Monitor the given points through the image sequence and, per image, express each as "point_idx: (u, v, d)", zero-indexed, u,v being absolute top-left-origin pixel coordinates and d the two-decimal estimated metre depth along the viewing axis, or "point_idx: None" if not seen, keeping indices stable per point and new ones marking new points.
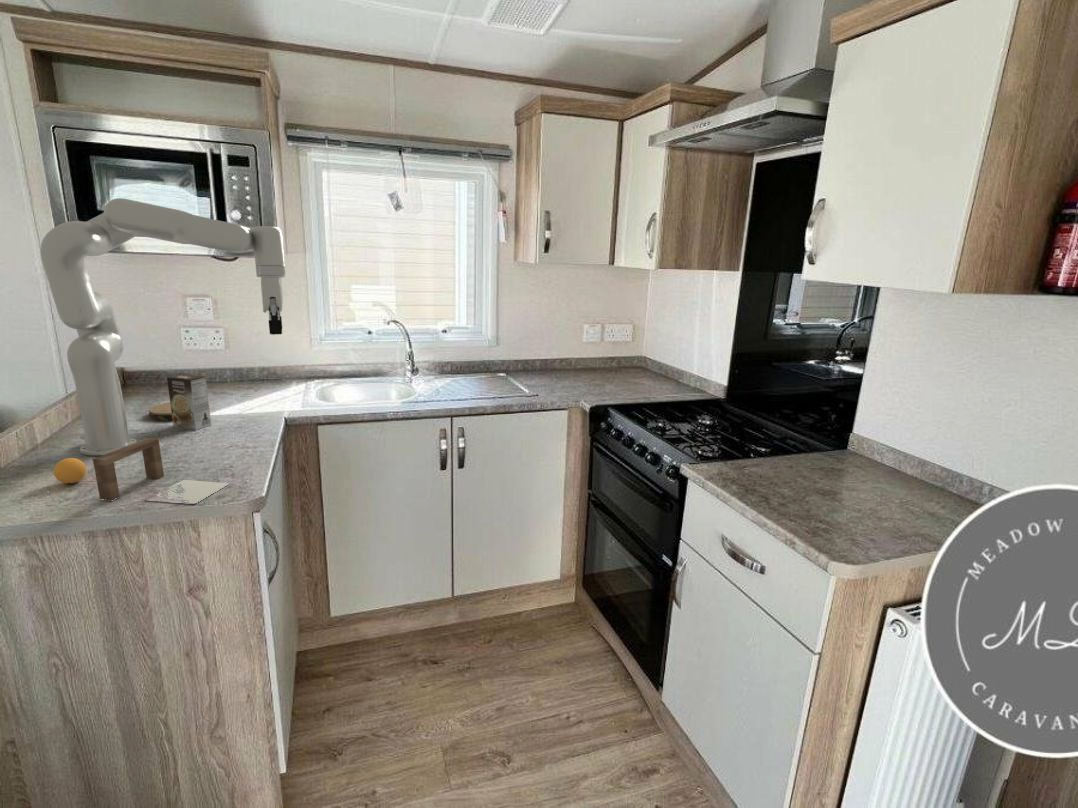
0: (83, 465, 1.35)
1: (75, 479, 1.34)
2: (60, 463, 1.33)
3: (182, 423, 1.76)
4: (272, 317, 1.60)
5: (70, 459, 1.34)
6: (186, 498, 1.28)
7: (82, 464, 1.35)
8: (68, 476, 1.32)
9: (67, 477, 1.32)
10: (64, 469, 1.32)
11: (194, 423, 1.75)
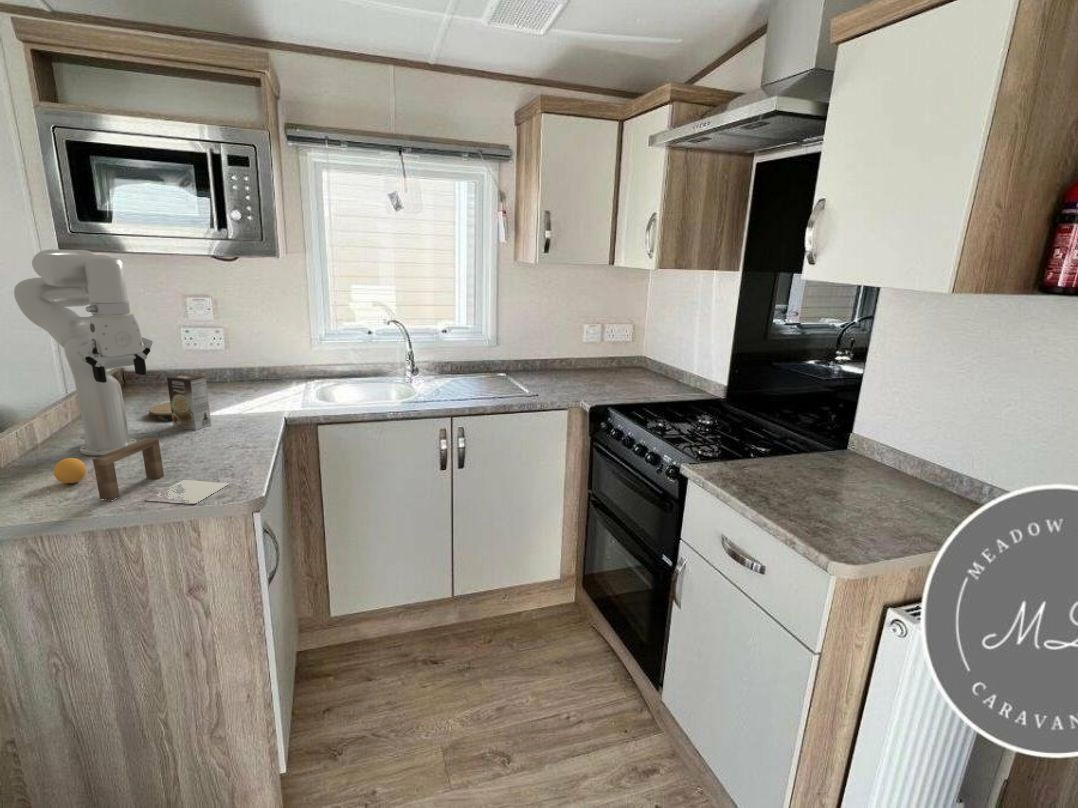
0: (83, 465, 1.35)
1: (75, 479, 1.34)
2: (60, 463, 1.33)
3: (182, 423, 1.76)
4: None
5: (70, 459, 1.34)
6: (186, 498, 1.28)
7: (82, 464, 1.35)
8: (68, 476, 1.32)
9: (67, 477, 1.32)
10: (64, 469, 1.32)
11: (194, 423, 1.75)
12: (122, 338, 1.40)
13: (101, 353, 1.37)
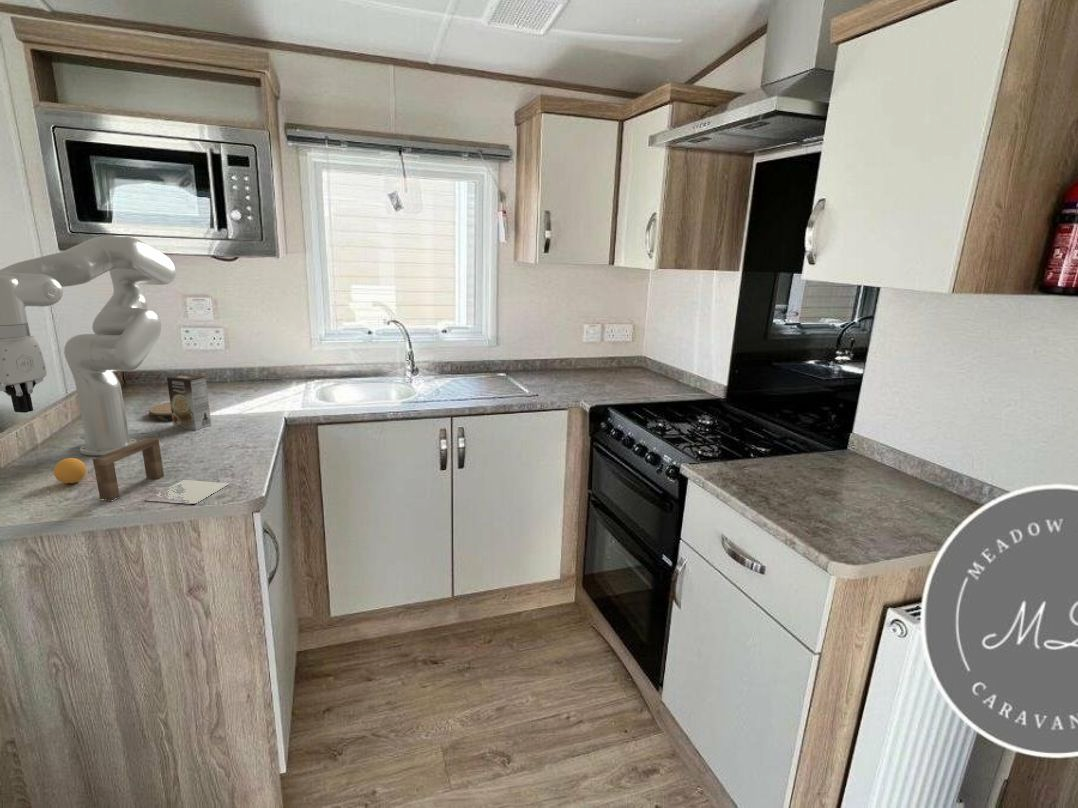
0: (83, 465, 1.35)
1: (75, 479, 1.34)
2: (60, 463, 1.33)
3: (182, 423, 1.76)
4: None
5: (70, 459, 1.34)
6: (186, 498, 1.28)
7: (82, 464, 1.35)
8: (68, 476, 1.32)
9: (67, 477, 1.32)
10: (64, 469, 1.32)
11: (194, 423, 1.75)
12: (24, 363, 1.29)
13: (1, 380, 1.25)
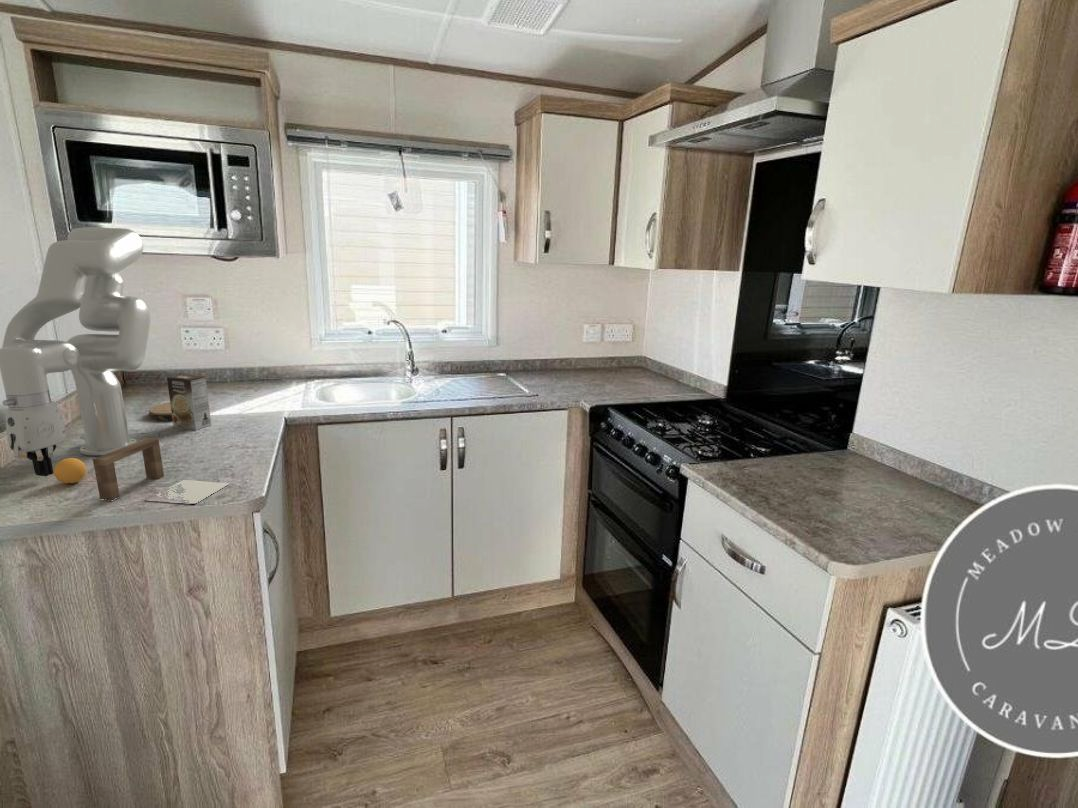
0: (83, 465, 1.35)
1: (75, 479, 1.34)
2: (60, 463, 1.33)
3: (182, 423, 1.76)
4: None
5: (70, 459, 1.34)
6: (186, 498, 1.28)
7: (82, 464, 1.35)
8: (68, 476, 1.32)
9: (67, 477, 1.32)
10: (64, 469, 1.32)
11: (194, 423, 1.75)
12: (45, 429, 1.32)
13: (23, 447, 1.29)
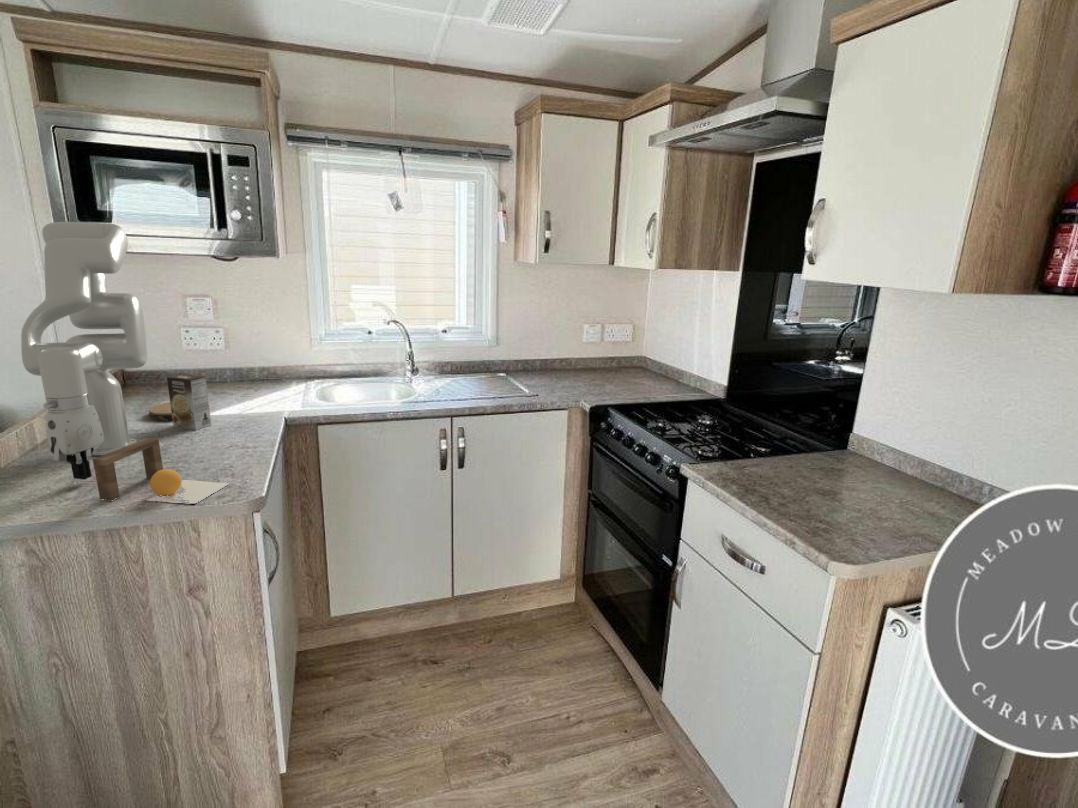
0: None
1: None
2: (168, 491, 1.28)
3: (182, 423, 1.76)
4: None
5: (174, 492, 1.30)
6: (186, 498, 1.28)
7: None
8: (153, 491, 1.28)
9: None
10: (159, 494, 1.28)
11: (194, 423, 1.75)
12: (84, 431, 1.31)
13: (64, 450, 1.28)
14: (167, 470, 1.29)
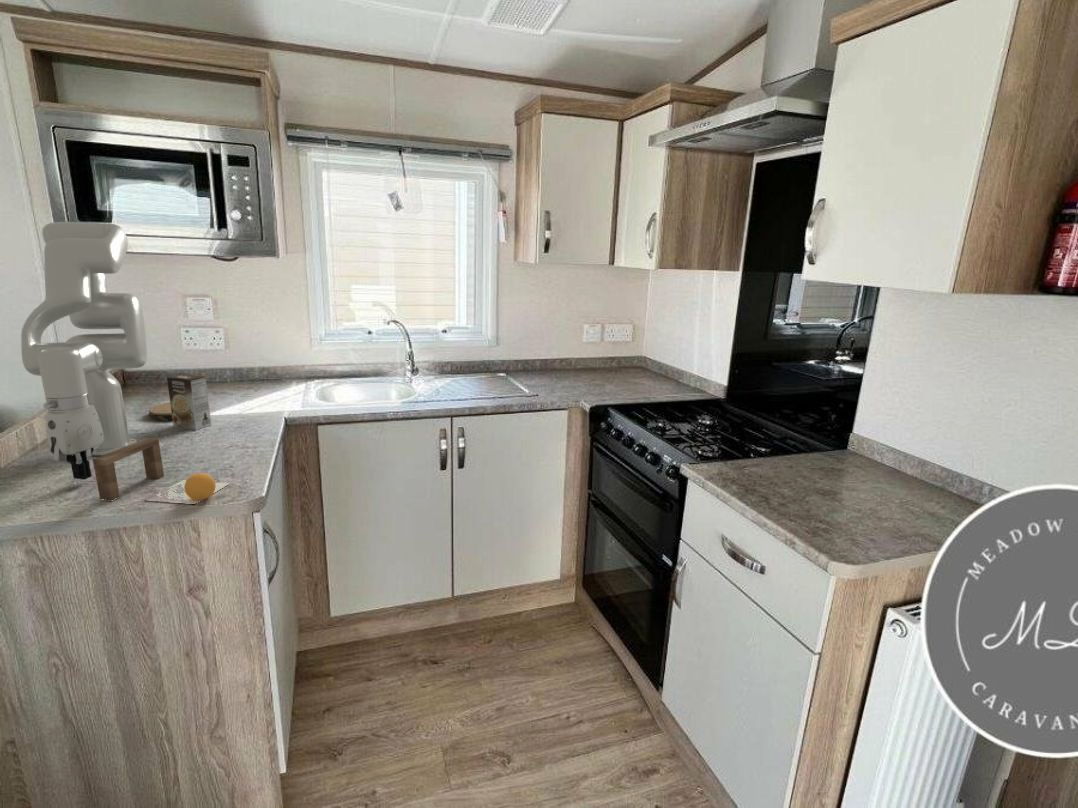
0: (204, 473, 1.29)
1: (205, 484, 1.26)
2: (185, 483, 1.27)
3: (182, 423, 1.76)
4: None
5: None
6: (186, 498, 1.28)
7: (203, 473, 1.28)
8: (196, 484, 1.25)
9: (197, 486, 1.25)
10: (189, 482, 1.25)
11: (194, 423, 1.75)
12: (84, 431, 1.31)
13: (64, 450, 1.28)
14: None
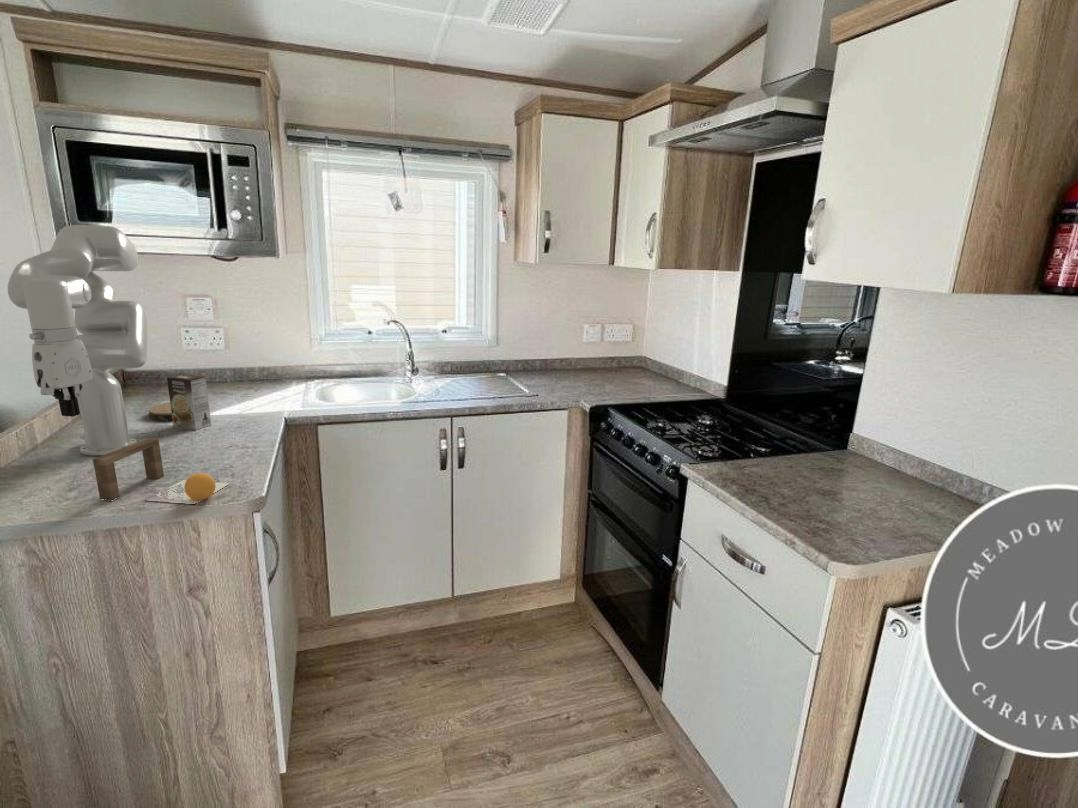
0: (204, 473, 1.29)
1: (205, 484, 1.26)
2: (185, 483, 1.27)
3: (182, 423, 1.76)
4: None
5: None
6: (186, 498, 1.28)
7: (203, 473, 1.28)
8: (196, 484, 1.25)
9: (197, 486, 1.25)
10: (189, 482, 1.25)
11: (194, 423, 1.75)
12: (72, 366, 1.28)
13: (50, 384, 1.24)
14: None
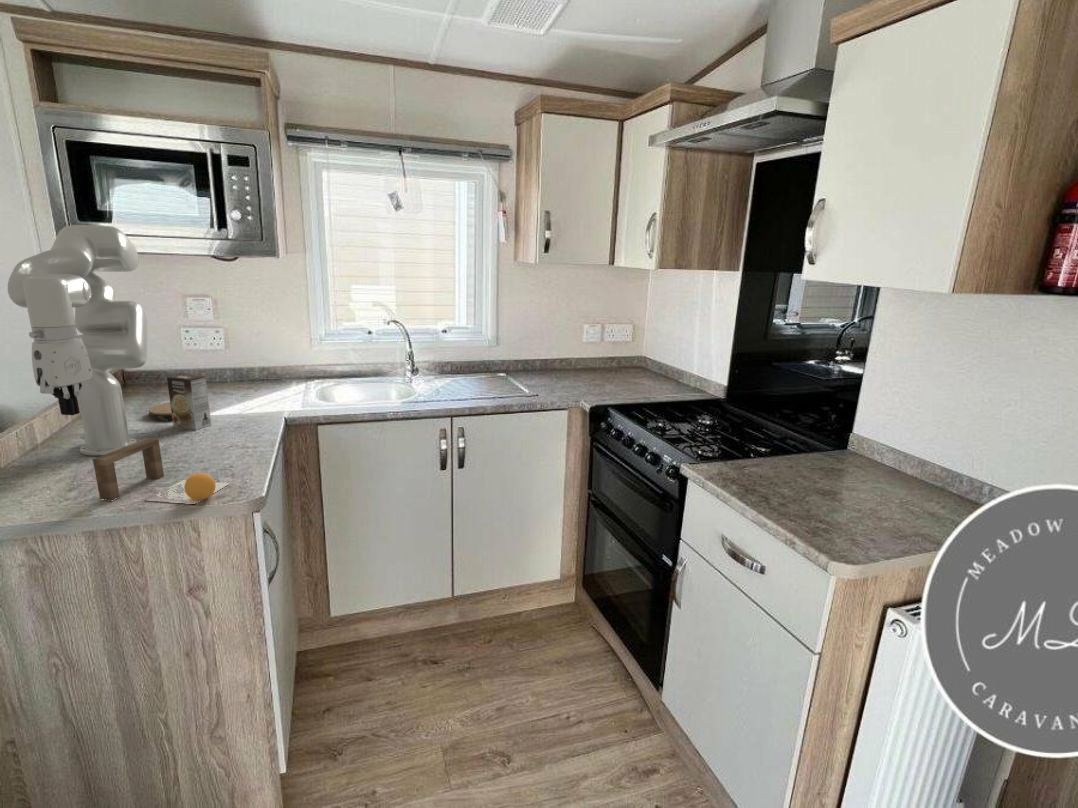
0: (204, 473, 1.29)
1: (205, 484, 1.26)
2: (185, 483, 1.27)
3: (182, 423, 1.76)
4: None
5: None
6: (186, 498, 1.28)
7: (203, 473, 1.28)
8: (196, 484, 1.25)
9: (197, 486, 1.25)
10: (189, 482, 1.25)
11: (194, 423, 1.75)
12: (71, 365, 1.27)
13: (50, 382, 1.24)
14: None
